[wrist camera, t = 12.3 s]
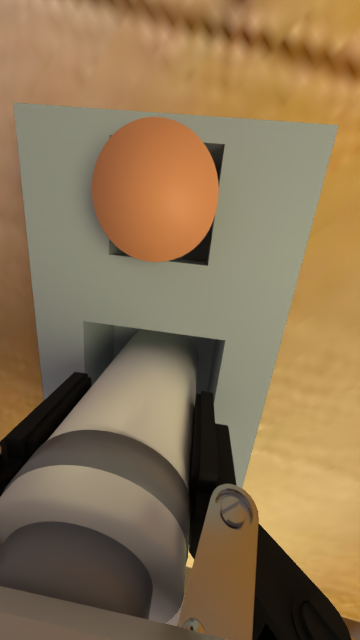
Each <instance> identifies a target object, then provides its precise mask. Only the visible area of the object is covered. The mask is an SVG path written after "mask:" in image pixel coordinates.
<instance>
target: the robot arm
mask: <svg viewBox="0 0 360 640" xmlns="http://www.w3.org/2000/svg"><path fill="white" fill-rule="evenodd" d="M91 387H92V385H91V377H88V374H87V373H80V372H74V373H73V374H72V375H71V376H70V377H69V378H67V379H66V380H65V381H64V382H63V383H62V384H61V385H60V386H59V387H58V388H57V389H56V390H55V391H54V392H53V393H51V394H50V395H49V396H48V397H47V398H46V399H45V400H44V401H43V402H42V403H41V404H40V405H39V406H38V407H37V408H35V409H34V410H33V411H32V412H31V413H30V414H29V415H28V416H27V417H26V418H25V419H24V420H23V421H22V422H21V423H19V424H18V425H17V426H16V427H15V428H14V429H13V430H12V431H11V432H10V433H9V434H8V435H7V436H6V437H5V438H4V439H2V440H1V441H0V497H1V495H2V493H3V491H4V489H5V488H6V486H7V485H8V484H9V483H10V481H11V480H12V479H13V478H14V477H15V475H16V474H17V473H18V472H19V471H20V469H21V468H22V467H23V466H24V465H25V464H26V462H27V461H28V460H29V459H30V458H31V456H32V455H33V454H34V453H35V452H36V450H37V449H38V448H39V447H40V446H41V445H42V444H44V443H45V442H46V441H47V440H48V439H49V437H50V436H51V435H52V434H53V433H54V431H55V430H56V429H57V428H58V426H59V425H60V424H61V423H62V422H63V420H64V419H65V418H66V417H67V416H68V414H69V413H70V412H71V411H72V410H73V408H74V407H75V406H76V405H77V403H78V402H79V401H80V400H81V399H82V397H83V396H84V395H85V394H86V393H87V391H88V390H89V389H90V388H91ZM189 496H190V503H191V509H190V528H189V552H190V554H191V555H192V557H193V558H194V563H193V567H192V571H191V575H190V579H189V583H188V586H187V590H186V594H185V598H184V602H183V606H182V609H181V613H180V617H179V621H178V625H177V626H172V625H169V624H165V623H160V622H156V621H152V620H147V619H143V618H139V617H134V616H130V615H126V614H121V613H117V612H113V611H108V610H104V609H100V608H96V607H91V606H87V605H83V604H78V603H74V602H69V601H65V600H60V599H56V598H52V597H47V596H43V595H38V594H34V593H29V592H25V591H20V590H16V589H11V588H7V587H2V586H0V640H354V639H353V638H352V637H351V636H350V634H349V631H348V628H347V626H346V625H345V623H344V621H343V619H342V617H341V616H340V614H339V612H338V611H337V610H336V608H335V607H334V606H333V604H332V603H331V602H330V601H329V599H328V598H327V597H326V596H325V595H324V594H323V593H322V592H321V591H320V590H319V589H318V587H317V586H316V585H315V584H314V583H313V582H312V581H311V580H310V579H309V578H308V577H307V575H306V574H305V573H304V572H303V571H302V570H301V569H300V568H299V567H298V566H297V565H296V563H295V562H294V561H293V560H292V559H291V558H290V557H289V556H288V555H287V554H286V553H285V551H284V550H283V549H282V548H281V547H280V546H279V545H278V544H277V543H276V542H275V541H274V539H273V538H272V537H271V536H270V535H269V534H268V533H267V532H266V531H265V530H264V529H263V527H262V526H261V525H260V524H259V518H258V510H257V508H256V505H255V503H254V501H253V500H252V498H251V496H250V495H249V494H248V493H247V492H246V491H245V490H243V489H242V488H240V487H238V486H237V485H236V477H235V470H234V463H233V456H232V448H231V441H230V434H229V428H228V425H222V424H216V423H215V414H214V398H213V393H212V392H206V391H201V394H198V393H197V394H196V400H195V407H194V420H193V436H192V452H191V468H190V484H189Z"/></svg>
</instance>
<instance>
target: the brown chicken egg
mask: <svg viewBox="0 0 360 640" xmlns="http://www.w3.org/2000/svg"><path fill="white" fill-rule="evenodd" d="M218 195H219V185H218V177H217V171H216V168H215V164H214V161H213V159H212V157H211V154H210V153H209V151H208V149H207V147H206V146H205V144H204V143H203V142H202V140H201V139H200V138H199V137H198V136H197V135H196V134H195V133H194V132H193V131H192V130H190V129H189V128H188V127H186V126H185V125H183V124H181V123H179V122H177V121H174V120H171V119H168V118H163V117H146V118H140V119H138V120H135V121H132V122H130V123H128V124H126V125H124V126H123V127H122V128H120V129H119V130H118V131H116V132H115V133H114V134H113V135H112V136H111V137H110V138H109V140H108V141H107V142H106V144H105V145H104V147H103V148H102V150H101V152H100V154H99V156H98V159H97V161H96V164H95V168H94V172H93V178H92V200H93V205H94V210H95V213H96V216H97V219H98V221H99V223H100V225H101V227H102V229H103V231H104V232H105V234H106V235H107V237H108V238H109V239H110V240H111V241H112V242H113V244H114V245H115V246H117V247H118V248H119V249H120V250H121V251H123V252H125V253H126V254H128V255H130V256H132V257H134V258H136V259H139V260H143V261H148V262H164V261H169V260H173V259H176V258H179V257H182V256H184V255H185V254H187V253H189V252H190V251H192V250H193V249H194V248H195V247H196V246H198V245H199V244H200V242H201V241H202V240H203V239H204V238H205V236H206V234H207V233H208V231H209V229H210V227H211V225H212V222H213V219H214V216H215V213H216V209H217V204H218Z"/></svg>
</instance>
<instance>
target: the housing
mask: <svg viewBox="0 0 360 640" xmlns="http://www.w3.org/2000/svg"><path fill="white" fill-rule="evenodd" d="M13 104H14V114H15V124H16V133H17V143H18V153H19V163H20V172H21V182H22V192H23V202H24V211H25V221H26V231H27V240H28V250H29V260H30V270H31V279H32V289H33V299H34V309H35V318H36V328H37V338H38V348H39V357H40V367H41V377H42V387H43V396H44V400H45V399H46V398H47V397H48V396H49V395H50V394H51V393H53V392H54V391H55V390H56V389H57V388H58V387H59V386H60V385H61V384H62V383H63V382H64V381H65V380H66V379H67V378H69V377H70V376H71V375H72V374H73V373H74V372H80V373H87V374H88V377H91V385H93V384H94V383H95V382H96V380H97V379H98V378H99V377H100V376H101V374H102V373H103V372H104V371H105V370H106V368H107V367H108V366H109V365H110V364H111V362H112V361H113V360H114V359H115V357H116V356H117V355H118V354H119V353H120V351H121V350H122V349H123V348H124V347H125V345H126V344H127V343H128V342H129V341H130V339H131V338H132V337H133V336H134V334H135V333H136V332H138V331H139V330H140V329H145V330H153V331H160V332H167V333H175V334H182V335H188V336H189V337H190V338H191V340H192V341H193V343H194V345H195V347H196V350H197V356H198V361H197V378H196V394H197V393H198V394H201V391H206V392H212V393H213V398H214V414H215V423H216V424H222V425H228V428H229V434H230V441H231V448H232V456H233V463H234V470H235V477H236V485H237V486H238V487H240V488H242V486H243V483H244V479H245V475H246V471H247V468H248V464H249V460H250V456H251V453H252V449H253V445H254V441H255V438H256V434H257V430H258V426H259V423H260V419H261V415H262V411H263V407H264V404H265V400H266V396H267V392H268V389H269V385H270V381H271V377H272V374H273V370H274V366H275V362H276V359H277V355H278V351H279V347H280V344H281V340H282V336H283V332H284V329H285V325H286V321H287V317H288V314H289V310H290V306H291V302H292V298H293V295H294V291H295V287H296V283H297V280H298V276H299V272H300V268H301V265H302V261H303V257H304V253H305V250H306V246H307V242H308V238H309V235H310V231H311V227H312V223H313V220H314V216H315V212H316V208H317V205H318V201H319V197H320V193H321V190H322V186H323V182H324V178H325V174H326V171H327V167H328V163H329V159H330V156H331V152H332V148H333V144H334V141H335V137H336V133H337V129H338V126H339V125H330V124H315V123H301V122H286V121H272V120H257V119H243V118H228V117H214V116H199V115H185V114H170V113H156V112H141V111H127V110H112V109H97V108H83V107H68V106H54V105H39V104H25V103H13ZM146 117H163V118H168V119H171V120H174V121H177V122H179V123H181V124H183V125H185V126H186V127H188V128H189V129H190V130H192V131H193V132H194V133H195V134H196V135H197V136H198V137H199V138H200V139H201V140H202V142H203V143H204V144H205V146H206V147H207V149H208V151H209V153H210V154H211V157H212V159H213V161H214V164H215V168H216V171H217V177H218V185H219V195H218V204H217V209H216V213H215V216H214V219H213V222H212V225H211V227H210V229H209V231H208V233H207V234H206V236H205V238H204V239H203V240H202V241H201V242H200V244H199V245H198V246H196V247H195V248H194V249H193V250H192V251H190V252H189V253H187V254H185V255H184V256H182V257H179V258H176V259H173V260H169V261H164V262H148V261H143V260H139V259H136V258H134V257H132V256H130V255H128V254H126V253H125V252H123V251H121V250H120V249H119V248H118V247H117V246H115V245H114V244H113V242H112V241H111V240H110V239H109V238H108V237H107V235H106V234H105V232H104V231H103V229H102V227H101V225H100V223H99V221H98V219H97V216H96V213H95V210H94V205H93V200H92V178H93V172H94V168H95V164H96V161H97V159H98V156H99V154H100V152H101V150H102V148H103V147H104V145H105V144H106V142H107V141H108V140H109V138H110V137H111V136H112V135H113V134H114V133H115V132H116V131H118V130H119V129H120V128H122V127H123V126H124V125H126V124H128V123H130V122H132V121H135V120H138V119H140V118H146ZM195 400H196V395H195Z"/></svg>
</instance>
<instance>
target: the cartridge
mask: <svg viewBox="0 0 360 640" xmlns="http://www.w3.org/2000/svg"><path fill="white" fill-rule="evenodd" d="M197 361H198V356H197V350H196V347H195V345H194V343H193V341H192V340H191V338H190V337H189V336H188V335H182V334H175V333H167V332H160V331H153V330H145V329H140V330H139V331H138V332H136V333H135V334H134V336H133V337H132V338H131V339H130V341H129V342H128V343H127V344H126V345H125V347H124V348H123V349H122V350H121V351H120V353H119V354H118V355H117V356H116V357H115V359H114V360H113V361H112V362H111V364H110V365H109V366H108V367H107V368H106V370H105V371H104V372H103V373H102V374H101V376H100V377H99V378H98V379H97V380H96V382H95V383H94V384H93V385H92V387H91V388H90V389H89V390H88V391H87V393H86V394H85V395H84V396H83V397H82V399H81V400H80V401H79V402H78V403H77V405H76V406H75V407H74V408H73V410H72V411H71V412H70V413H69V414H68V416H67V417H66V418H65V419H64V420H63V422H62V423H61V424H60V425H59V426H58V428H57V429H56V430H55V431H54V433H53V434H52V435H51V436H50V437H49V439H48V440H47V441H46V442H45V443H44V444H42V445H41V446H40V447H39V448H38V449H37V450H36V452H35V453H34V454H33V455H32V456H31V458H30V459H29V460H28V461H27V462H26V464H25V465H24V466H23V467H22V468H21V469H20V471H19V472H18V473H17V474H16V475H15V477H14V478H13V479H12V480H11V481H10V483H9V484H8V485H7V486H6V488H5V489H4V491H3V493H2V495H1V497H0V586H2V587H7V588H11V589H16V590H20V591H25V592H29V593H34V594H38V595H43V596H47V597H52V598H56V599H60V600H65V601H69V602H74V603H78V604H83V605H87V606H91V607H96V608H100V609H104V610H108V611H113V612H117V613H121V614H126V615H130V616H134V617H139V618H143V619H147V620H152V621H156V622H160V623H166V622H168V621H169V620H170V619H171V618H172V617H173V616H174V615H175V614H176V613H177V612H178V610H179V608H180V607H181V604H182V601H183V595H184V581H185V565H186V562H187V558H188V548H189V528H190V509H191V503H190V496H189V484H190V468H191V452H192V436H193V420H194V407H195V395H196V378H197Z"/></svg>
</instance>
